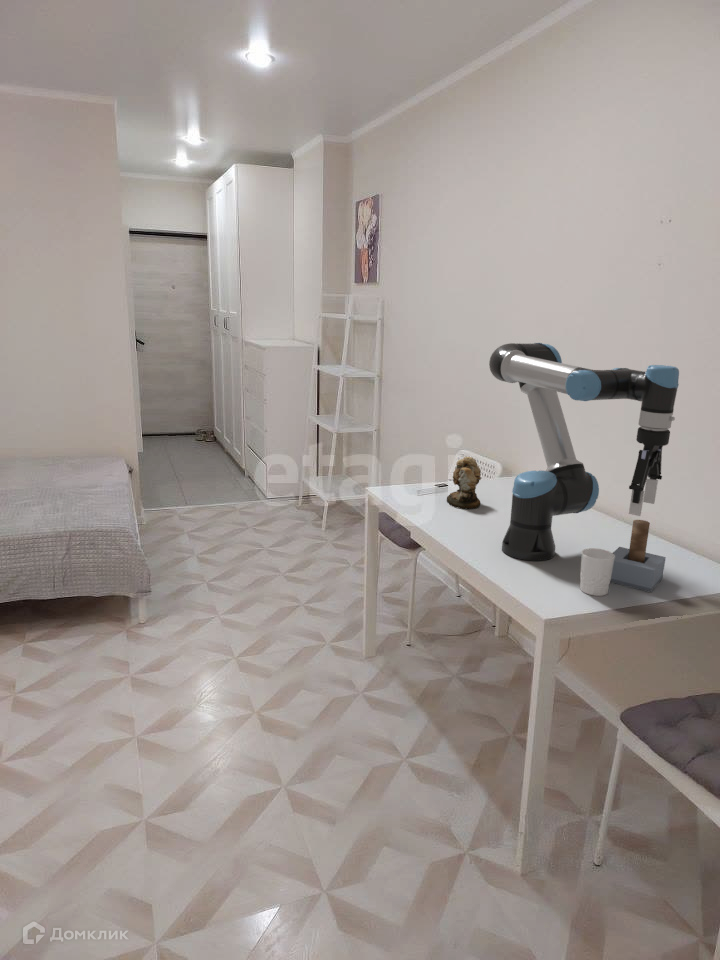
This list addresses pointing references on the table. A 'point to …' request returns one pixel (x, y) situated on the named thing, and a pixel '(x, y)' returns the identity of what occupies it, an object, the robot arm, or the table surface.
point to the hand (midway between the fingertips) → (641, 508)
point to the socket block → (637, 570)
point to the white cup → (596, 571)
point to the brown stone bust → (465, 484)
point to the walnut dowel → (638, 541)
